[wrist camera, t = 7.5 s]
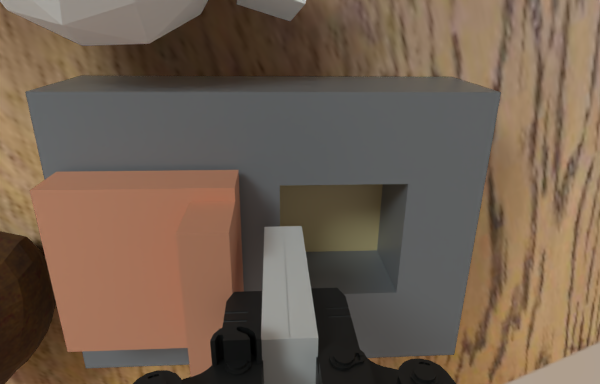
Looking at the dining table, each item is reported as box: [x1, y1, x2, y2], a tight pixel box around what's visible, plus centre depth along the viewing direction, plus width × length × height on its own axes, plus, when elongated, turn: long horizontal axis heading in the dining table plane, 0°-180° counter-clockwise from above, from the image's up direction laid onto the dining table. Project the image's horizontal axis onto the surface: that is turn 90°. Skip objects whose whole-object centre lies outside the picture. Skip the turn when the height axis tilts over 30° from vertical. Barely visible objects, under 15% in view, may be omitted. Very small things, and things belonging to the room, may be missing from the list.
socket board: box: [26, 76, 501, 368], centre depth 21 cm, size 18×13×5 cm
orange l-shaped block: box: [30, 170, 244, 377], centre depth 16 cm, size 7×7×4 cm
